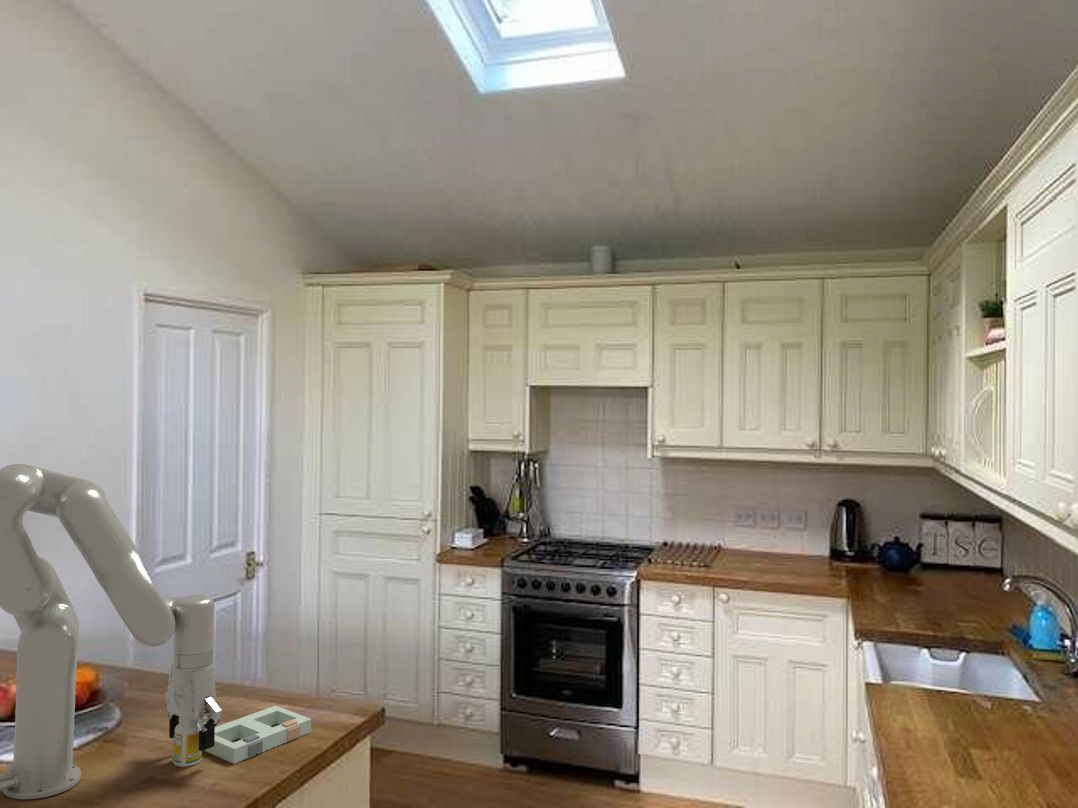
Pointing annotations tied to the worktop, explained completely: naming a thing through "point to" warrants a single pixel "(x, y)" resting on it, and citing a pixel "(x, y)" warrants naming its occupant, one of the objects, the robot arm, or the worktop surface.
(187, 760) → the supplement bottle
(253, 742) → the socket board
